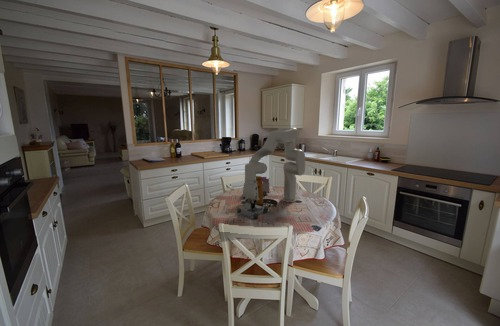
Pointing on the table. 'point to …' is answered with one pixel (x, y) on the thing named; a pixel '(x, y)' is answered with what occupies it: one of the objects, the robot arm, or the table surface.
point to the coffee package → (259, 190)
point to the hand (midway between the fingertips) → (250, 207)
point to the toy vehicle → (265, 185)
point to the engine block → (248, 204)
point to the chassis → (252, 212)
